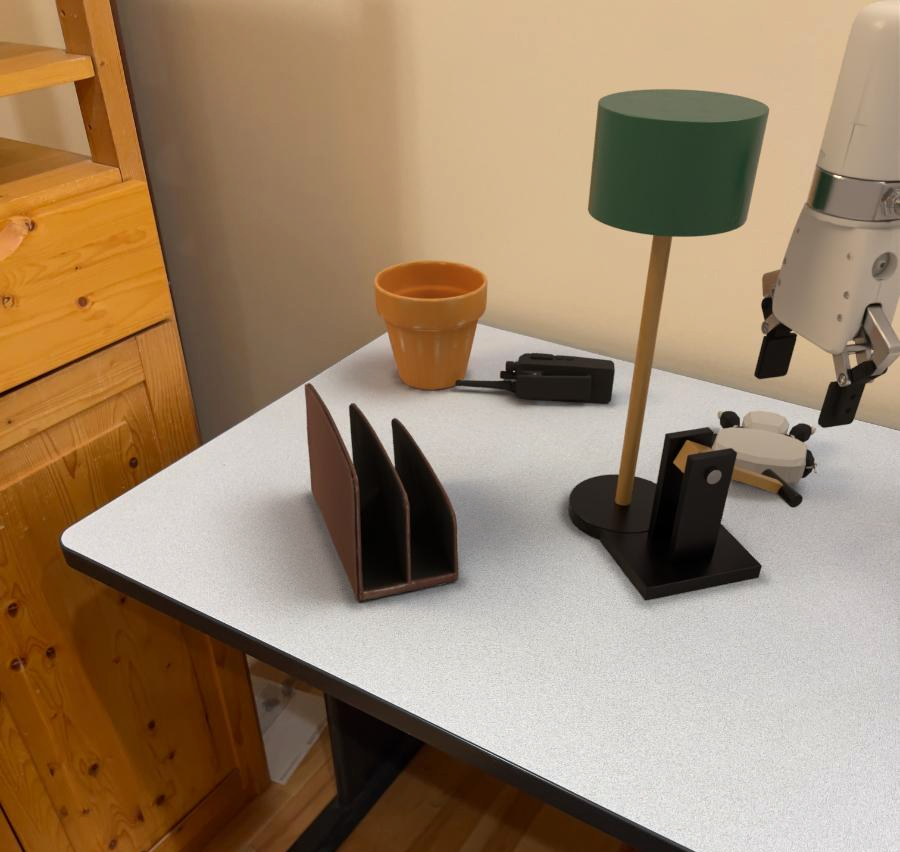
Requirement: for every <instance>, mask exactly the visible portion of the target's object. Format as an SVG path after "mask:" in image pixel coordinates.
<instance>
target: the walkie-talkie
mask: <svg viewBox="0 0 900 852" xmlns="http://www.w3.org/2000/svg"><path fill="white" fill-rule="evenodd" d="M615 368H616V367H615V363H614V361H613V360H611V359H602V358H594V357H585V356H584V357H583V356H576V355H562V354H557V355H555V354H552V353H543V352H542V353H541V352H531V353H530V352H526V353H523V354H520V356H519V357H518V360H516V361H513V360H506V361H505V369H504V370H500V372H499V379H501V380H473V379H472V380H471V379H466V380H465V379H463V380H456V382H455V386H456V387H469V388H481V389H483V388H484V389H493V390H501V391H513V392H515V393H514V395H515V397H516V398H517V399H521V400H537V401H553V402H554V401H555V402H575V403H576V402H577V403H579V402H580V403H610V402H612V397H613V388H614V380H615V373H616V370H615ZM512 380H513V381H512Z"/></svg>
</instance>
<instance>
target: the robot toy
mask: <svg viewBox="0 0 900 852" xmlns="http://www.w3.org/2000/svg"><path fill="white" fill-rule="evenodd" d="M717 418H718V420H719V425H720V427H721V428H720V429H719V430H718V432H717V433H716V432H715V433H713V438H712V442H711V447H710V448H711V449H712V450H713V451H716V450H722V449H728V448H732V449H733V450H735V451H736V452H737V457H736V461H735V465H734V466H737V467H740V468H743V469H746V470H749V471H752V472H755V473H758V474H762V472H763V471H764V470H766V469H772V470H773V471H774V472H775V473H777V474H778V475H779V476H780V477H781V478H782V479H784V480H785V481H786V482H787V483H788V484H789V485H791V484H792V485H793V484H796V483H798V482H800V481H801V479H806V478H807V477H808V476H809V475H810V474H811V473H812V472H813V473H814V474H818V470H819V469H818V462H815V457H814V455H813V453H812V451H811V450H810V449H808V445H807V444H806V442H807V441H809V440H810V438H811V436H813V435H814V434H815V433H816V432H817V427H816V426H812V425H810V424H807V423H804V422H801V423H800V422H799V423H797V424H796V425H794V426H792V427H791V429H790V430H789V428H790V422H789V420H788V419H787V417H786V416H784V415H781V414H779V413H775V412H770V411H765V410H753V411H749V412H748V413H747V414H745V415H744V416H743V418H742V422H741V418H740V416H739V415H738V414H737V412H735V411H733V410H724V411H723V410H718V411H717ZM788 431H789V432H788Z"/></svg>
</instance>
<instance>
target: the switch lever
mask: <svg viewBox="0 0 900 852" xmlns="http://www.w3.org/2000/svg"><path fill="white" fill-rule="evenodd" d="M710 451H713V450H712V449H711V448H710V447H707V446H704V445H701V444H698V443H695V442H692V441H689V440H687V441H686V442H685V444H684V446H683V447H682V449H681V450H680V452H679V454H678V455H677V457H676V459H675V460H674V462H673V463H674V464H675V465H676V466H677V467H678V468H679V469H680V470H681V471H682V472H683V473H684V471H685V466H686V460H687V456H688V455H691V454H697V453H704V452H710ZM731 480H734V481H736V482H740V483H741V484H742V483H743V484H746V485H749V486H752V487H755V488H758V489H762V490H765V491H768V492H770V493H774V494H775V495H777V497H779V499H781V500H782V501H783V502H784V503H785V504H786V505H787V506H788V507H790V508H792V509H793V508H797V507H799V506H800V505H801V504H802V502H803V499H804V498H803V495H802V494H801V493H800V492H798V491H797V490H796V489H795V488H794V487H792V485H791V484H788V483H787V482H786V481H785V480H784V479H782V478H781V477H780V476H779V475H778V474H777V473H775V472H774V471H773V470H772V469H766V470H764V471H763V472H762V474H758V473H755V472H752V471H749V470H746V469H743V468H740V467H737V466H734V469H733V474H732V478H731Z"/></svg>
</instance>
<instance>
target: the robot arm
mask: <svg viewBox="0 0 900 852" xmlns="http://www.w3.org/2000/svg"><path fill="white" fill-rule="evenodd" d="M820 144H821V145H820V146H819V147H820V148H819V152H818V156H817V159H816V164H815V167H814V171H813V174H812V178H811V182H810V185H809V190H808V194H807V197H806V202H804V204H803V207H802V209H801V211H800V213H799V216H798V218H797V220H796V223H795V226H794V228H793V230H792V233H791V236H790V238H789V241H788V244H787V247H786V249H785V253H784V257H783V258H782V262H781V266H780V269H776V270H773V271H769V272H765V273H764V274H762V276H761V286H762V287H761V288H762V297H763V299H762V300H761V303H760V309H761V311H762V315H763V321H762V323H761V325H760V326H761V327H760V330H761V333H762V334H763V337H762V342H761V346H760V350H759V353H758V357H757V360H756V361H757V362H756V365H755V369H754V372H753V376H754V377H755V378H756V379H758V380H766V379H772V378H781V377H785V376H786V375H787V374H788V372H789V368H790V364H791V361H792V357H793V353H794V350H795V347H796V343H797V337H798V335H799V336H800V337H802V338H804V339H805V340H807V341H808V342H809V343H811V344H813V345H814V346H816V347H818V348H819V349H821V350H822V351H824V352H826V353H827V354H830V355H832V356H831V357H832V359H833V366H834V373H835V377H836V380H835V381H830V382H829V384H828V386H827V389H826V393H825V397H824V399H823V403H822V406H821V409H820V413H819V416H818V419H817V424H818V426H820V427H821V428H822V429H827V428H832V427H839V426H840V427H841V426H847V425H851V424H852V423H853V422H854V420H855V418H856V414H857V411H858V409H859V405H860V404H861V403H860V402H861V399H862V396H863V394H864V390H865V388H866V385H867V384H872V383H874V381H875V379H877V378H879V377H881V376H884V375H885V374H886V373H887V372H888V370H889V368H890V367H891V365H892V364H893V363H894V362H895V361H897V359H898V358H899V357H900V339H899V337H898V336H897V333H896V331H895V330H894V328H893V326H892V324H893V321H894V318H895V314H896V310H897V307H898V303H899V300H900V0H879V1H875V2H872V3H869V4H867V5H866V6H865V7H863V8H862V9H861V10H860V11H859V12H858V13H857V15H856V16H855V18H854V20H853V22H852V23H851V28H850V31H849V34H848V37H847V41H846V45H845V49H844V52H843V57H842V61H841V65H840V67H839V73H838V77H837V81H836V84H835V88H834V93H833V96H832V100H831V105H830V108H829V112H828V116H827V119H826V123H825V128H824V132H823V137H822V140H821V143H820ZM851 341H853V342H854V343H851V344H848V342H851ZM852 355H855V359H856V365H855V366H853V367H851V361H850V356H852Z"/></svg>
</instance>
